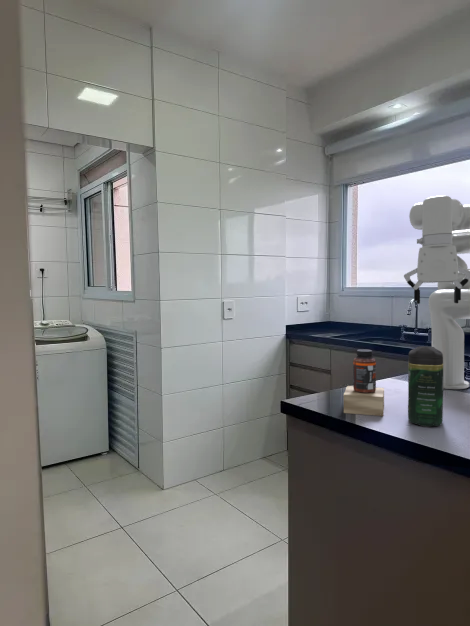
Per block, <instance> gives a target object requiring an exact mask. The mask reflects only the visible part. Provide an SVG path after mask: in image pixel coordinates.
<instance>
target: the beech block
mask: <svg viewBox="0 0 470 626" xmlns="http://www.w3.org/2000/svg"><path fill="white" fill-rule="evenodd" d="M384 411H385V387H377V386H376V391H375V392H372V393H360V392H357V391H355V390H354V387H353V385H347V386H346V388H345V391H344V393H343V414H351V415H352V414H353V415H365V416H378V417H384Z"/></svg>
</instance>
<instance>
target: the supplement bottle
mask: <svg viewBox="0 0 470 626" xmlns="http://www.w3.org/2000/svg"><path fill="white" fill-rule="evenodd" d="M356 355H357V356H356V357H354V359H353V361H352V363H353V365H352V366H353V367H352V368H353V369H352V371H353V376H352V380H353V381H352V382H353V384H352V386H353V387H354V390H355V391H357V392H360V393H372V392H375V391H376V387H377V360H376V358H374V357H373V350H371V349H366V348H365V349H363V348H362V349H357V350H356Z"/></svg>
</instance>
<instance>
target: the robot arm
mask: <svg viewBox="0 0 470 626" xmlns="http://www.w3.org/2000/svg"><path fill="white" fill-rule="evenodd" d="M408 217H409V222H410V225H411V226H412V228H413V229H415V230H421V233H422V234H421V235H422V236H421V238H417V239H416V244H419V245H421V247H419V249H418V258H417V264H416V265H417V267H416V268H414V269H412V270H411V271H409V272H407V273H405V274H404V275H403V278H404V279H405V281H406V283H407V285H408V286H410V287H411V288H412V289H413V294H414V297H413V300H414V302H416V304H417V305H418V304H421V290H420V287H421V286H422V285H423V284H426V283H428V284H429V283H434V284H435V283H437V290H435V291H433V292H432V293H431V294H430V295H429V297H428V308H429V315H430V321H431V322H430V324H431V325H430V326H431V347H434V348H435V349H437V350H439V351H441V352H442V354H443V390H464V389H467V388H469V387H470V382H469V381H467V380H465V332H464V330H463V328H462V327H461V326H460V324H459V323H458V322H457V321H456V320H459V319H460V320H461V319H462V320H470V268H468V265H467V263H466V261H465V260H464V259H462V258H461V257H460V256H459V255H461V254H462V255H464V254H470V204H464V205H463V203H461V201H459V200H458V199H456V198H452V197H451V196H449V195H436V196H430V197H426V198H424V200H423V201H422V202H418V203H414V204H413V206H412V207H411V209H410V210H409V215H408ZM414 275H416V276H417V282H416V283H414V282H413V280H412V279H411V276H414Z"/></svg>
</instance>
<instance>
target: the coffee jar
mask: <svg viewBox="0 0 470 626" xmlns="http://www.w3.org/2000/svg"><path fill="white" fill-rule="evenodd" d="M407 362H408V365H407V367H408V373H407V374H408V380H407V382H408V383H407V384H408V385H407V386H408V389H407V390H408V392H407V394H408V395H407V396H408V397H407V399H408V400H407V406H408V407H407V418H408V421H409V423H412V424H415V425H418V426H420V427H421V426H422V427H429V428H430V427H435V426H436V427H439V426H441V425H442V424H443V421H444V420H443V419H444V418H443V417H444V389H443V354H442V352H441V351H439V350H437V349H435V348H434V347H432V346H427V345H426V346H422V345H419V346H417V347H415V348H413V349H411V350H410V351H409V352H408V361H407Z"/></svg>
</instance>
